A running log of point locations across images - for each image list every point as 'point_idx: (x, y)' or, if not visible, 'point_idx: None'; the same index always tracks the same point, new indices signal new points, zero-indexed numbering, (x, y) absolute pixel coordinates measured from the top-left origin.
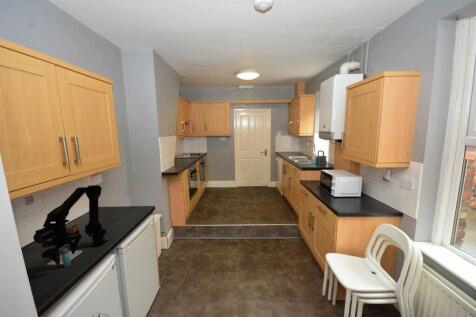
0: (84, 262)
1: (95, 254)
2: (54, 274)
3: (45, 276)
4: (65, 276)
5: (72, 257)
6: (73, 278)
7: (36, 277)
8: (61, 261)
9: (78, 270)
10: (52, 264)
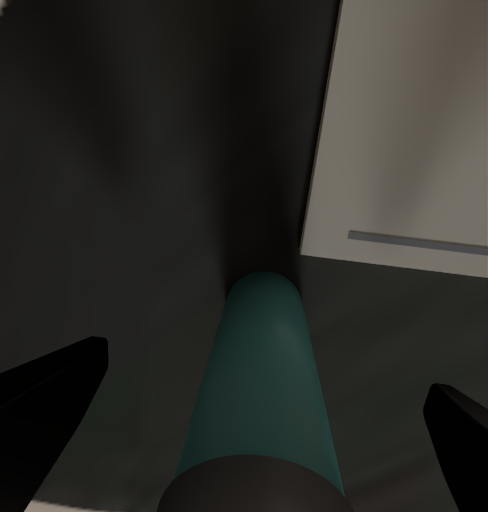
0: None
1: (442, 503)
2: (98, 263)
3: (60, 163)
4: None
5: (458, 264)
6: (47, 498)
7: (34, 18)
8: (384, 142)
9: (155, 479)
10: (340, 6)
